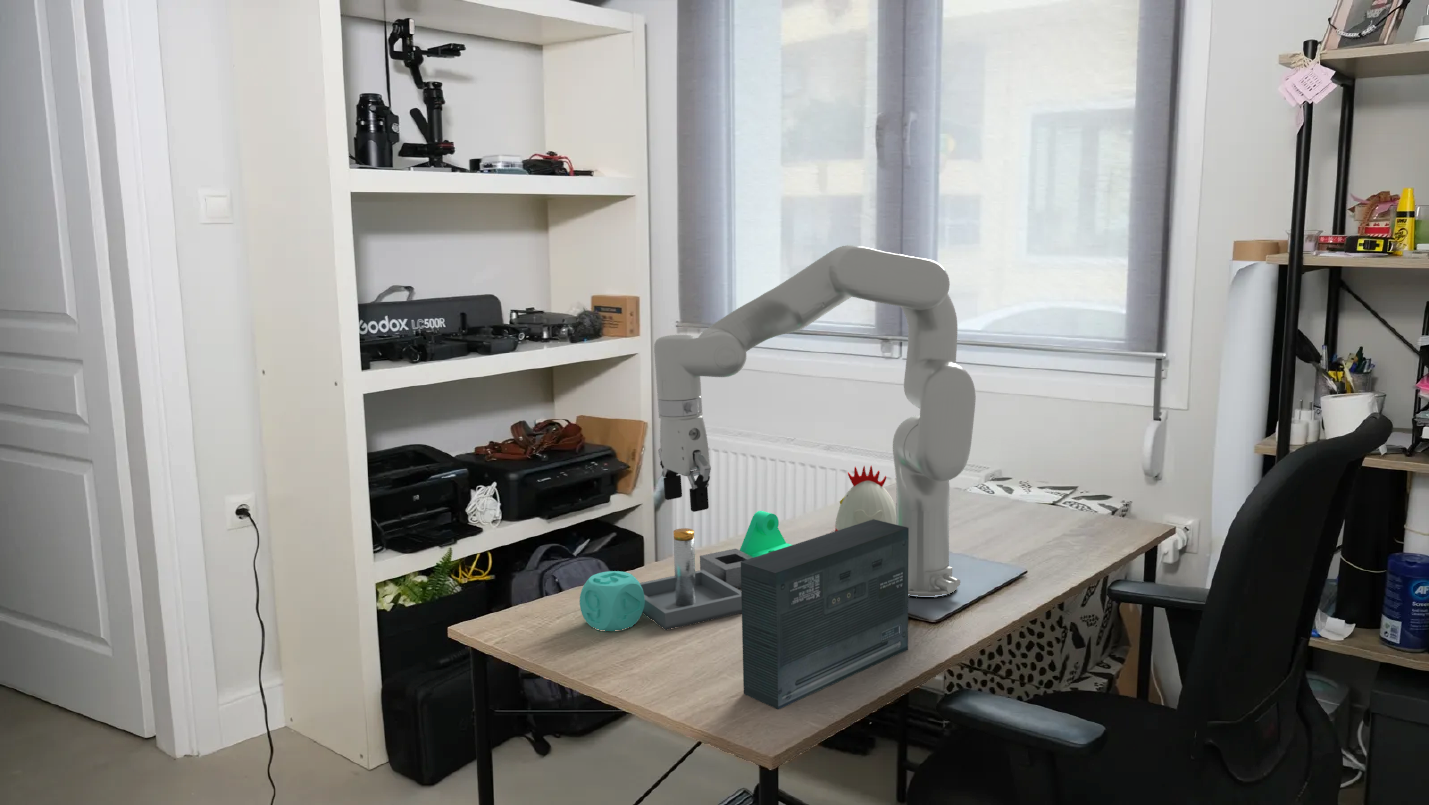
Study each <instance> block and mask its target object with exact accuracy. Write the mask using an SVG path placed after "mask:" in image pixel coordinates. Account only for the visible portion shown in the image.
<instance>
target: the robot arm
mask: <svg viewBox="0 0 1429 805" xmlns="http://www.w3.org/2000/svg"><path fill="white" fill-rule="evenodd" d="M949 290H950V278H949V274H948V273H947V271H946V269H945V268H944V267H943V265H941V264H940V263H938V262H937V261H935V260H932V259H928V258H923V257H918V256H917V257H915V256H910V255H905V254H901V253H899V254H898V253H893V252H887V251H883V250H879V249H874V248H872V247H871V248H870V247H866V246H859V245H851V244H850V245H848V244H847V245H841V246H839V247H836V248H835V249H833V250H831V251H829V252H827V253H826V254H824V255H823V256H822V257H820V258H819V259H816V260H815V261H814V262H812V263H811V264H809V265H808V266H807V267H805V268H804V269H802V270H800V271H799V272H798V273H796V274H794V275H793V276H791V277H789V278H788V279H786V280H785V281H783V282H782V283H780V284H778V285H776V286H775V287H773V288H772V289H770V290H768V291H766V292H764V293H762V294H761V295H760V296H759V295H758V297H756V298H754V299H753V300H751V301H749V302H747V303H744V304H743V305H742V306H740V307H738V308H737V309H735V310H733V311H732V312H730V313H729V314H727V315H725V316H724V317H722V318H721V319H719V320H718V321H716V322H715V323H713V324H711V325H710V326H708V327H707V328H706V329H704V330H703V331H702V332H701V334H700V335H699V336H698V337H695V336H693V335H690V334H670V335H664V336H661V337H658V338H657V339H656V340H655V342H654V345H653V349H654V351H653V352H654V354H653V355H654V365H655V366H654V368H655V380H656V392H657V393H656V396H657V410H658V418H659V419H660V422H659V424H660V429H659V436H660V437H659V438H660V439H659V440H660V441H659V442H660V448H659V449H658V452H657V453H658V457H659V460H660V462H659V463H660V466H661V469H662V471H661V475H662V477H663V487H664V488H663V489H664V490H663V491H664V498H665V500H667V501H671V500H674V499H679V498H680V499H681V498H682V497H683V487H682V476H684V477H687V479H688V482H689V484H690V486H691V488H689V490H688V491H689V500H690V501H689V503H690V505H689V506H690V511H691V512H693V513H694V512H695V513H696V512H700V511H705V510H708V509H709V488H708V487H709V485H710V484H709V481H710V478H711V476H710V475H711V470H712V469H711V468H712V467H711V462H710V461H711V460H710V452H709V449H710V448H709V442H708V434H707V429H706V424H705V421H704V420H705V419H704V417H703V403H702V402H703V400H702V383H701V377H706V378H707V377H709V378H728V377H732V376H734V375H736V374H738V373H740V371H741V370H742V369H743V367H745V364H746V361H747V352H748V351H750V350H751V349H753V348H755V347H756V346H758V345H759V344H762V343H764V342H765V341H767V340H769V339H772V338H774V337H778V336H781V335H787V334H792V333H795V332H798V331H800V330H803V329H804V328H807V327H808V326H810V325H811V324H813V323H814V322H815V321H817V320H819V319H820V318H821V317H823V316H824V315H826V314H827V313H828V312H830V311H832V310H833V309H835V308H837V306H840V305H841V304H843V303H844V302H846V301H847V300H849V299H850V298H856V299H860V300H865V301H870V302H874V303H878V304H879V303H880V304H886V305H889V306H890V305H891V306H897V307H900V309H902V311H903V313H904V316H905V318H906V321H907V333H908V335H907V348H906V349H907V352H906V360H905V371H904V377H903V378H904V379H903V390H904V395H905V397H906V399H907V400H908V402H910V403H911V404H912V405H913V406H915V407H916V408H918V409H920V410H919V415H913V416H910V417H907V419H905V420H903V421H902V422H901V423H900V424H899V425H898V427H897V428H896V430H895V433H894V435H893V439H892V456H893V464H894V473H895V474H894V475H895V494H896V495H895V500H896V501H895V502H896V503H895V507H896V525H899V526H903V527H908V528H909V549H908V594H910V595H918V596H935V595H942V594H949V593H952V592H953V593H955V592H956V591H957V589H958V587H959V586H960V585H961V579H959V578H957V577H955V576H953V567H952V566H950V514H951V513H950V512H951V511H950V509H951V508H950V506H951V490H950V481H951V480H953V479H955V478H956V477H958V476H959V475H960V474H961V473H962V472H963V471H964V470H965V468H966V466H967V464H968V461H969V458H970V454H971V446H972V439H973V432H974V431H973V430H974V421H975V413H976V412H975V411H976V388H975V385H974V381H973V378H972V377H971V375H970V373H968V371H967V370H966V369H965V368H964V367H963V366H961V365H959V364H958V363H957V347H958V317H957V313H956V309H955V305H954V303H953V300H952V299H951V297H950V295H949ZM695 477H696V479H695ZM956 588H957V589H956ZM955 590H956V591H955ZM954 591H955V592H954ZM953 593H952V594H953ZM949 595H950V594H949Z"/></svg>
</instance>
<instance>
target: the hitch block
mask: <svg viewBox="0 0 1429 805" xmlns="http://www.w3.org/2000/svg"><path fill="white" fill-rule="evenodd" d="M751 558H754V557H752V556H750V555H748V554H746V553H744V552H742V551H740V549H738V548H732V549H727V550H721V551H716V552H713V553H712V552H711V553H707V554H702V555H701V554H700V555H699V571H700V570H705V571H706V572H708V573H710V574H712V575H713V576H715V577H717V578H719V579H720V580H722V581H724V582H726V583H728V584H729V585H731V586H733V587H735V588H736V589H741V561H745V560H748V559H751Z"/></svg>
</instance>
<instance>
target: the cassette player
mask: <svg viewBox="0 0 1429 805" xmlns="http://www.w3.org/2000/svg"><path fill="white" fill-rule="evenodd" d="M908 549H909V528H908V527H903V526H899V525H895V524H891V523H887V522H883V521H879V520H875V519H872V520H869V521H866V522H863V523H860V524H857V525H854V526H851V527H847V528H844V529H841V530H838V531H835V530H834V531H833V532H832V531H831V532H830V533H826V534H823V535H819V536H817V537H813V538H810V539H807V540H804V541H801V542H798V543H795V544H792V545H791V546H788V547H785V548H782V549H779V550H776V551H773V552H769V553H766V554H763V555H760V556H757V557H754V558H751V559H748V560H745V561H741V588H740V591H741V598H742V613H741V621H742V622H741V633H742V636H741V638H742V675H743V677H742V678H743V686H742V687H743V695H745V696H747V697H749V698H751V699H754V700H756V701H758V702H761V703H763V704H766V705H768V706H769V707H772V708H774V709H776V710H781V709H783V708H785V707H786V706H789V705H791V704H794V703H795V702H798V701H801V700H802V699H804V698H806V697H809V696H811V695H812V694H814V693H817V692H820V691H822V690H823V689H826V688H828V687H830V686H832V685H835V684H837V683H838V682H841V681H843V680H845V679H847V678H850V677H852V676H854V675H856V674H858V673H860V672H863V671H865V670H867V669H869V668H871V667H874V666H877V664H880V663H882V662H884V661H887V660H889V659H890V658H893V657H895V656H898V655H900V654H902V653H904V652H906V651H908V650H909V596H908Z"/></svg>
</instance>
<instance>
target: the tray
mask: <svg viewBox="0 0 1429 805" xmlns="http://www.w3.org/2000/svg"><path fill="white" fill-rule="evenodd" d="M639 583H640V585H641V587H642V589H643V592H644V598H645V603H644V609H643V612H642V613H644V614H645V615H646V616H648V617H649V618H650V619H652V620H654V621H655V622H656V623H657V624H658V626H659V625H660V626H661V627H660V626H659V627H660V628H662V627H663V628H664V629H665V630H664V629H663V628H662V629H663V630H664V631H668V630H667V629H670V630H672V629H671V628H674V629H676V628H675V627H679V628H682V626H683V627H686V626H690V624H691V625H695V623H696V624H699V623H698V622H700V623H704V622H707V621H708V620H709V621H712V620H711V619H713V620H717V619H720V618H726V617H730V616H733V615H738V614H742V598H741V589H739V588H737V589H736V588H735V587H733V586H731V585H729V584H728V583H726V582H724V581H722V580H720V579H719V578H717V577H715V576H713V575H712V574H710V573H708V572H706V571H705V570H700V569H699V570H697V571H696V570H695V585H696V604H694V605H690V606H685V607H680V606H677V605H676V599H675V575H672V576H668V577H666V576H665V577H661V578H657V579H653V580H648V581H643V582H639ZM645 615H644V616H645ZM646 616H645V617H646ZM648 617H647V618H648ZM649 618H648V619H649ZM650 619H649V620H650ZM652 620H651V621H652ZM703 621H704V622H703ZM709 621H708V622H709ZM655 622H654V623H655ZM656 623H655V624H656ZM657 624H656V625H657Z"/></svg>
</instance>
